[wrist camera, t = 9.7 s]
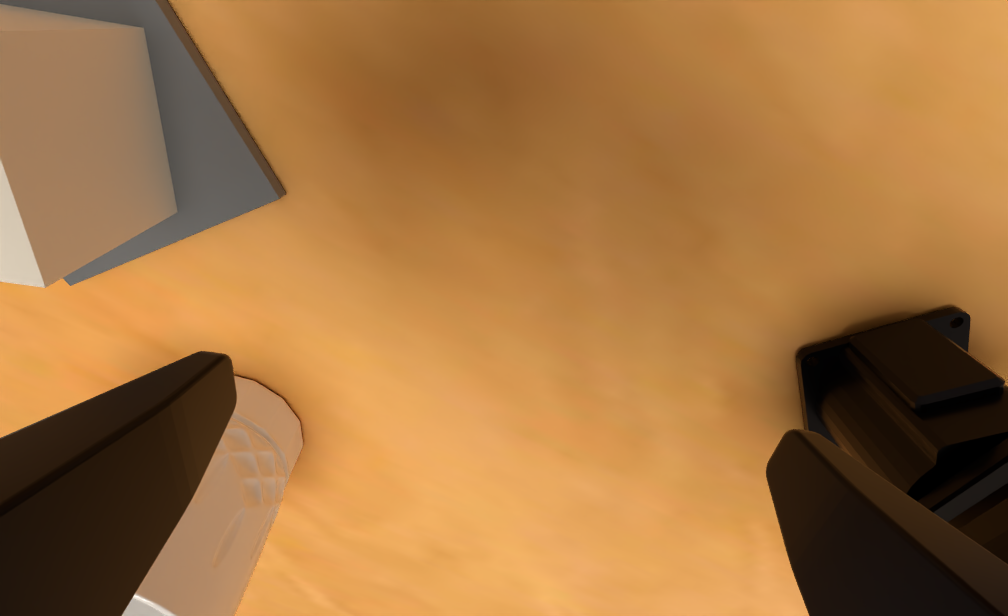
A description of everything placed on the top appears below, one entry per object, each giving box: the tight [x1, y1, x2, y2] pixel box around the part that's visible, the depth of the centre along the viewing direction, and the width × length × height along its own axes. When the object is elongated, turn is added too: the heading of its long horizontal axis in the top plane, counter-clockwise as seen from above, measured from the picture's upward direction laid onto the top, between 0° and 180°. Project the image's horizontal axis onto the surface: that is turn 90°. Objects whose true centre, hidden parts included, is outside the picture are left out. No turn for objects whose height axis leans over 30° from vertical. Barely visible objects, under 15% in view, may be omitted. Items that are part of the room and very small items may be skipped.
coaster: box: [0, 0, 286, 286], centre depth 17 cm, size 10×10×1 cm
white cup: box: [122, 376, 303, 616], centre depth 20 cm, size 8×8×10 cm
